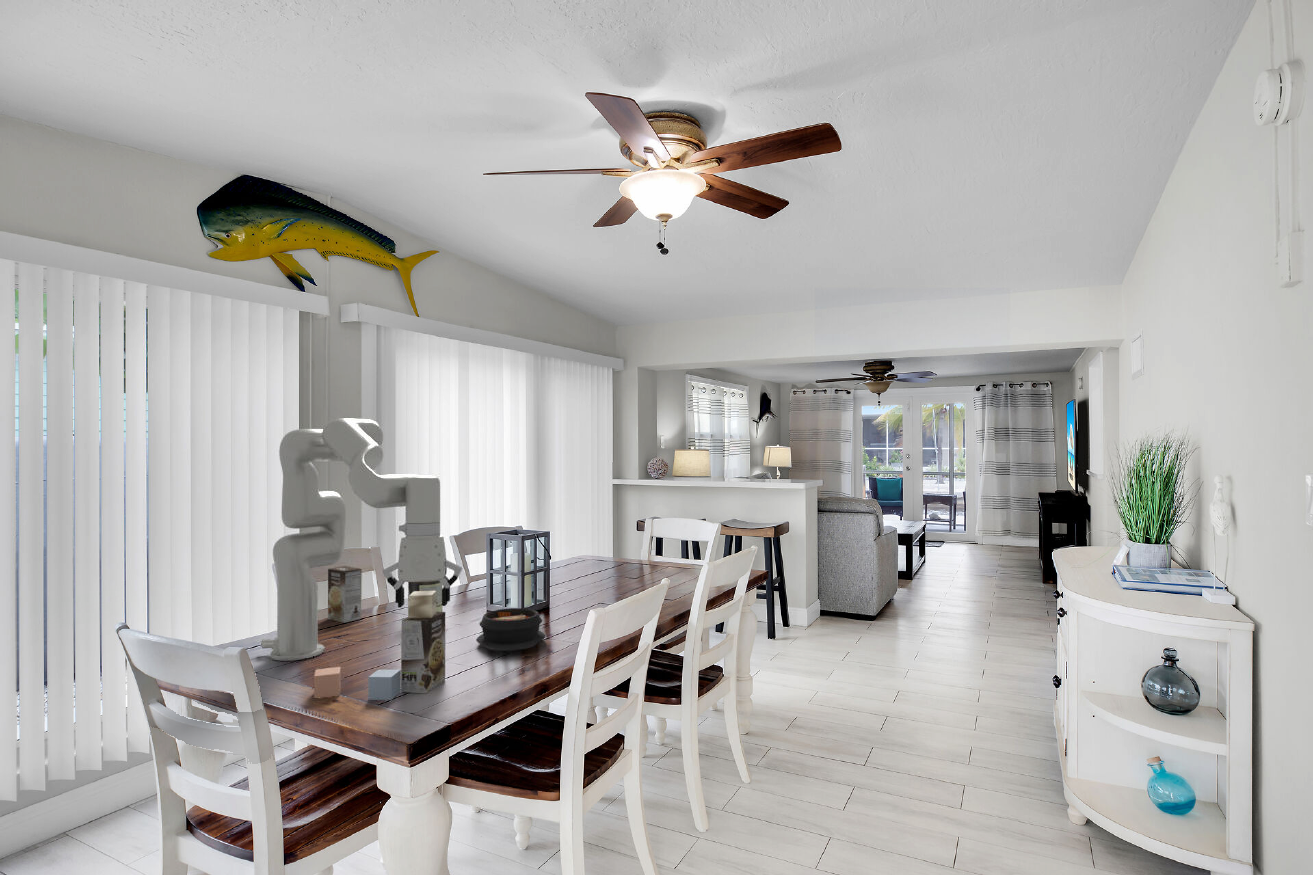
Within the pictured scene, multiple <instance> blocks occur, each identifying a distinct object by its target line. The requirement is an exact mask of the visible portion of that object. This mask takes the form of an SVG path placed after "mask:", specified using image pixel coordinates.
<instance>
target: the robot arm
mask: <svg viewBox="0 0 1313 875" xmlns="http://www.w3.org/2000/svg"><path fill="white" fill-rule="evenodd" d="M383 441H384V434H383V430H382V428H381V426H380V424H378V423H377V422H376V421H374V420H372V419H366V418H344V417H342V418H341V417H340V418H336V419H332V420H330V421H328V422H326V424H325V425H324V427H323V428H300V429H299V428H298V429H294V430H291V431H289V432H287V433H286V434H285V435H284V436H283V437H282V439H281V441H280V444H279V450H278V452H279V454H278V457H279V462H280V466H281V472H282V488H281V489H282V490H281V492H282V493H281V521H282V524H283V525H284V526H285V527H287V528H289V529H293V530H294V529H297V530H299V529H309V528H310V529H312V528H319V530H318V531H307V532H300V533H299V532H298V533H292V534H287V535H285V536H284V535H283V536H282V537H280V538H279V539H278V540H277V541H276V542H275V544H274V545H273V548H272V557H273V564H274V568H275V573H276V590H277V591H276V593H277V594H276V598H277V599H276V601H277V602H276V604H277V606H276V607H277V609H276V610H277V611H276V612H277V613H276V614H277V615H276V620H277V621H276V625H277V626H276V627H277V628H276V632H277V633H276V638H275V637H274V639H270V638H268V639H262V640H260V641H261V642H260V647H261V648H262V649H272V651H271V652H270V654H269V655H270V659H272V660H275V661H278V662H279V661H280V662H281V661H283V662H288V661H300V660H306V659H310V658H314V657H317V656H319V655H322V654H323V653H324V652H325V645H323V644H321V643H318V633H319V630H318V629H319V625H318V624H319V623H318V620H319V619H318V618H319V617H318V615H319V612H318V609H319V607H318V605H319V604H318V603H319V602H318V601H319V599H318V598H319V597H318V596H319V592H318V590H319V588H318V582H317V580H316V578H315V577H314V576H313V574H312V573H311V572H310V569H314V568H318V567H326V566H331V565H334V564H337V563H338V562H340V561H341V559H342V557H343V555H344V552H345V541H346V520H347V510H346V503H345V501H344V498H343V497H342V496H341V495H340V494H339V493H338V492H336V491H332V490H320V489H319V487H320V477H319V476H320V475H319V473H318V471H317V469H316V466H315V465H314V464H313V463H312V462H343V463H344V464H345V465H346V466H347V467H348V476H347V477H348V482H349V486H350V488H351V490H352V491H353V493H354V494H355V495H356V496H357V497H358V498H359V499H360V500H361V501H362V502H364V504H366V505H367V506H369V507H371V508H374V509H386V508H387V509H388V508H397V507H398V508H399V507H400V508H401V507H402V508H403V507H405V523H404V524H401V525H399V526H398V532H402V533H404V536H401V539H400V544H399V551H398V552H399V553H398V561H397V562H395V563H394V564H392V565H390V566H387V568H384V569H383V570H382V573H383V575H384V577H385V579H386V581H387V583H388V584H390V585H391V587H392V588H393V590H395V600H394V601H395V604H397V608H398V609H399V608H402V607H403V606H404V605H405V587H404V586H403V585H404V584H405V583H408V582H423V581H438V580H439V581H440V583H441V584H442V585H443V589H442V607H446V606H447V604H448V602H451V586H452V585H453V584H454V583H456V581H457V580H458V578H459V577H460V575H461V573H462V571H463V567H462V566H460V565H458V564H456V563H454V562H452V561H450V560H448V559H447V554H446V553H447V551H446V545H445V544H446V543H445V538H444V535H443V534H441V480H440V479H439V477H437V476H435V475H418V474H413V473H408V474H407V473H406V474H403V473H402V474H400V473H399V474H398V473H397V474H382V475H381V474H380V475H379V474H377V473H375V472H374V471H376V470H377V468H378V467H379V466H381V463H382V462H383V459H384V452H383V448H382V444H383ZM319 490H320V491H319ZM447 569H450V570H451V571H453V575H452V576H451V577H450V578H448V576H447V573H448V572H447V571H448V570H447ZM395 570H397V578H395V577H394V576H393V573H392V572H394V571H395ZM322 652H323V653H322ZM313 656H314V657H313ZM305 658H306V659H305Z"/></svg>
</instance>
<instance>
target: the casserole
mask: <svg viewBox="0 0 1313 875" xmlns="http://www.w3.org/2000/svg"><path fill="white" fill-rule="evenodd" d="M542 622H543V619H542V618H541V616H540V613H539V611H537V610H534V609H531V608H524V607H522V608H519V607H513V608H511V607H510V608H500V609H496V610H492V611H489V612H486V613H485V614H483V616H482V619H481V620H480V621H479V623H478V625H479V627H480V628H481V629H482V634H480V635H479V636H477V638H476V640H475V641H476V642H477V643H478V644H479V645H482V646H483V647H486V649H488V650H490V651H494V652H514V651H523V650H528V649H532V648H534V647H535V646H536V645H537V644H538V643H540V642H541V641H544V639H545V638H546V634H545V633H544V632H543V631H540V626H541V623H542Z"/></svg>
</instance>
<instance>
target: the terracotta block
mask: <svg viewBox="0 0 1313 875" xmlns="http://www.w3.org/2000/svg"><path fill="white" fill-rule="evenodd" d="M313 678H314V679H313V681H314V682H313V686H314V687H313V690H314V691H313V694H314V696H313V699H314V698H318V697H327V698H332V697H331V696H335V697H341V696H340V694H341V666H337V667H336V666H334V667H326V668H325V667H324V668H316V669H315V672H314V675H313Z"/></svg>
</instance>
